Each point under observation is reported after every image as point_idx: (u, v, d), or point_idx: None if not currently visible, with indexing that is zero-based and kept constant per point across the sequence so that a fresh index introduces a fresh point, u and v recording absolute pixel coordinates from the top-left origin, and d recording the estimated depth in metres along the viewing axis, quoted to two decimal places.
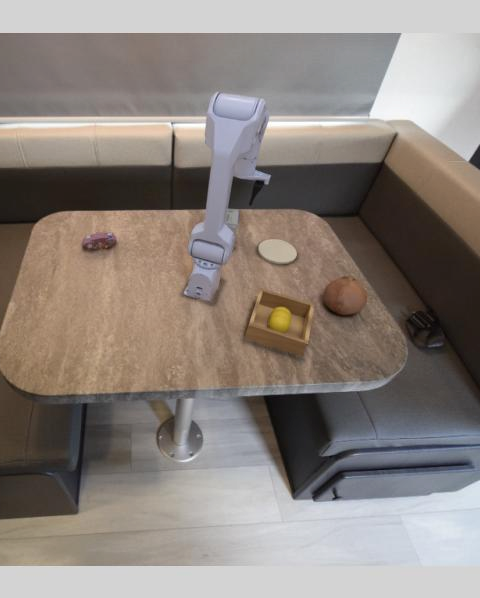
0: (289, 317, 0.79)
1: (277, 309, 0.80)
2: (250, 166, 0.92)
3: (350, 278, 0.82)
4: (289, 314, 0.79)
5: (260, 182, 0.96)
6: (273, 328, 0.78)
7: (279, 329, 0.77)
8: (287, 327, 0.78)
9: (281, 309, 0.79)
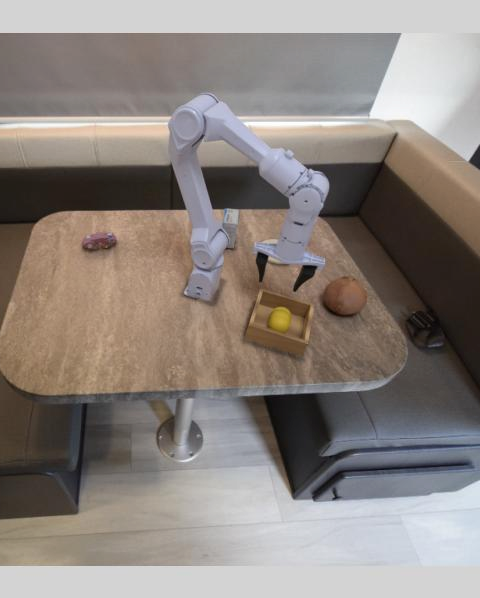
0: (289, 317, 0.79)
1: (277, 309, 0.80)
2: (300, 250, 0.70)
3: (350, 278, 0.82)
4: (289, 314, 0.79)
5: (311, 267, 0.73)
6: (273, 328, 0.78)
7: (279, 329, 0.77)
8: (287, 327, 0.78)
9: (281, 309, 0.79)
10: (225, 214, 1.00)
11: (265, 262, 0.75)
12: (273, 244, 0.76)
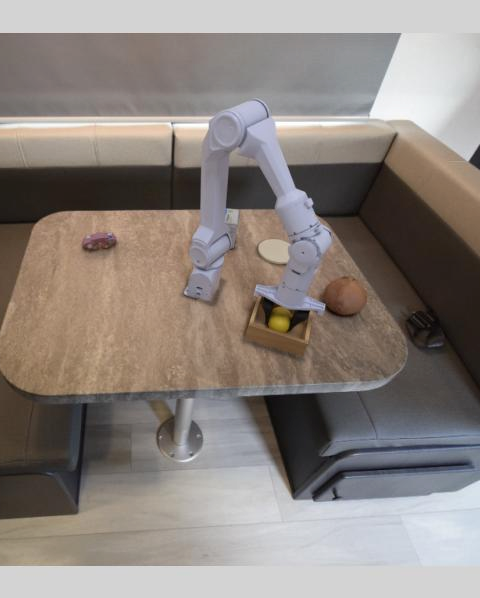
0: (289, 317, 0.79)
1: (277, 309, 0.80)
2: (300, 296, 0.71)
3: (350, 278, 0.82)
4: (289, 314, 0.79)
5: (305, 310, 0.74)
6: (273, 328, 0.78)
7: (279, 328, 0.77)
8: (287, 327, 0.78)
9: (281, 309, 0.79)
10: (225, 214, 1.00)
11: (271, 307, 0.76)
12: (274, 287, 0.77)
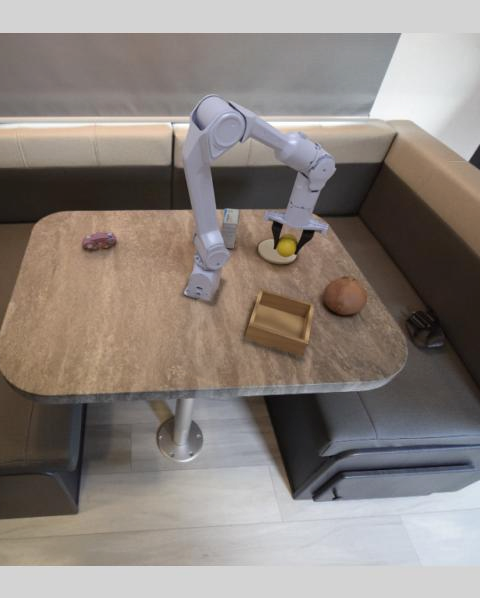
0: (295, 241, 0.87)
1: (284, 235, 0.88)
2: (306, 215, 0.79)
3: (350, 278, 0.82)
4: (295, 239, 0.88)
5: (310, 231, 0.83)
6: (281, 250, 0.87)
7: (286, 250, 0.86)
8: (294, 249, 0.86)
9: (288, 234, 0.88)
10: (225, 214, 1.00)
11: (280, 229, 0.84)
12: (283, 212, 0.85)
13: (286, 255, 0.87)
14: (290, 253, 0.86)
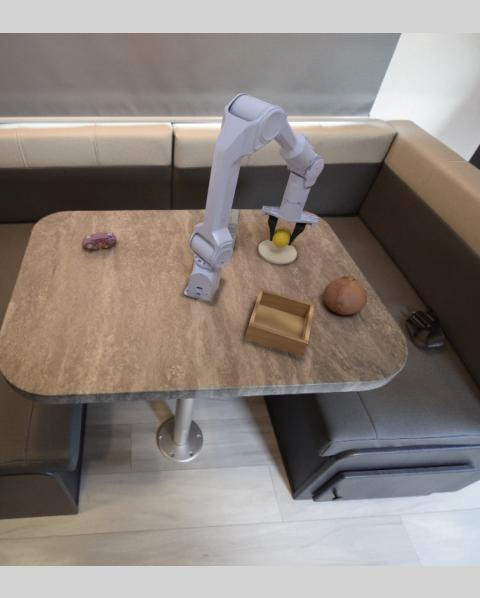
0: (289, 233, 0.97)
1: (279, 228, 0.99)
2: (298, 209, 0.89)
3: (350, 278, 0.82)
4: (289, 231, 0.98)
5: (302, 224, 0.93)
6: (276, 241, 0.97)
7: (281, 241, 0.96)
8: (287, 240, 0.96)
9: (283, 227, 0.98)
10: None
11: (275, 222, 0.94)
12: (277, 207, 0.95)
13: (281, 246, 0.97)
14: (284, 244, 0.97)
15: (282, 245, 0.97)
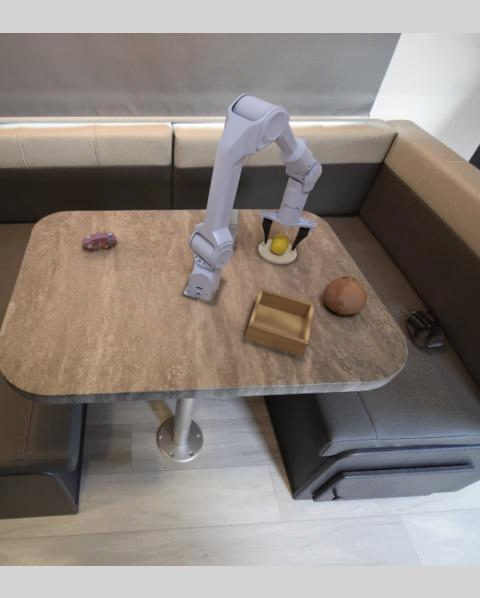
0: (287, 240, 0.99)
1: (278, 234, 1.00)
2: (296, 214, 0.90)
3: (350, 278, 0.82)
4: (287, 238, 1.00)
5: (305, 229, 0.94)
6: (274, 248, 0.98)
7: (279, 248, 0.98)
8: (285, 247, 0.98)
9: (281, 234, 1.00)
10: None
11: (269, 225, 0.96)
12: (276, 211, 0.96)
13: (279, 252, 0.99)
14: (282, 251, 0.98)
15: (280, 252, 0.98)
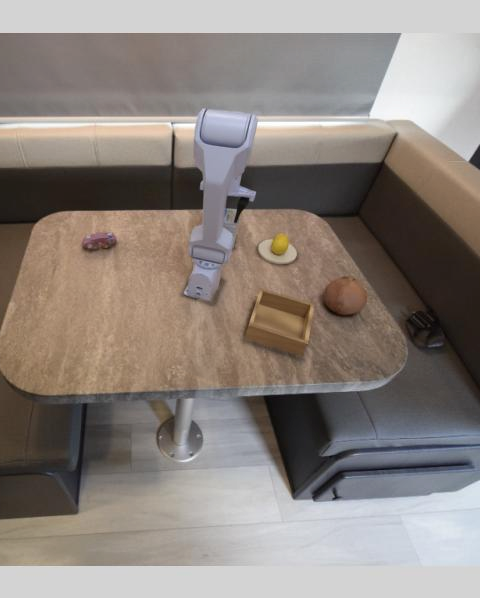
0: (288, 241, 0.99)
1: (279, 234, 1.00)
2: (233, 182, 0.87)
3: (350, 278, 0.82)
4: (288, 239, 1.00)
5: (245, 199, 0.91)
6: (275, 248, 0.98)
7: (280, 248, 0.98)
8: (286, 248, 0.98)
9: (282, 234, 1.00)
10: (225, 214, 1.00)
11: None
12: None
13: (279, 252, 0.99)
14: (283, 251, 0.98)
15: (280, 252, 0.98)
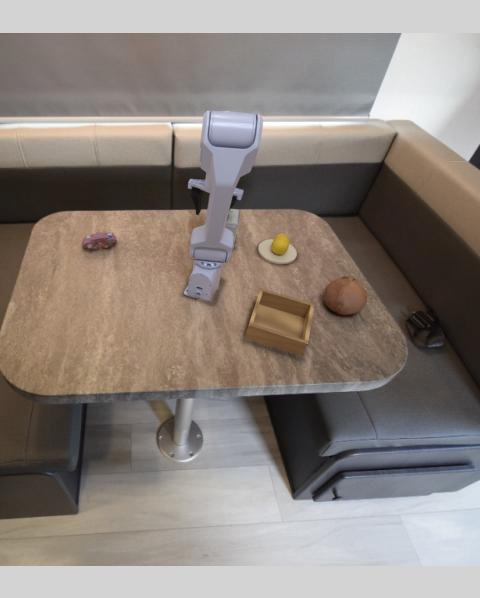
0: (288, 241, 0.99)
1: (279, 234, 1.00)
2: None
3: (350, 278, 0.82)
4: (288, 239, 1.00)
5: (232, 197, 0.91)
6: (275, 248, 0.98)
7: (280, 248, 0.98)
8: (286, 248, 0.98)
9: (283, 234, 1.00)
10: None
11: (197, 194, 0.93)
12: (205, 180, 0.94)
13: (279, 253, 0.99)
14: (283, 251, 0.98)
15: (281, 252, 0.98)
